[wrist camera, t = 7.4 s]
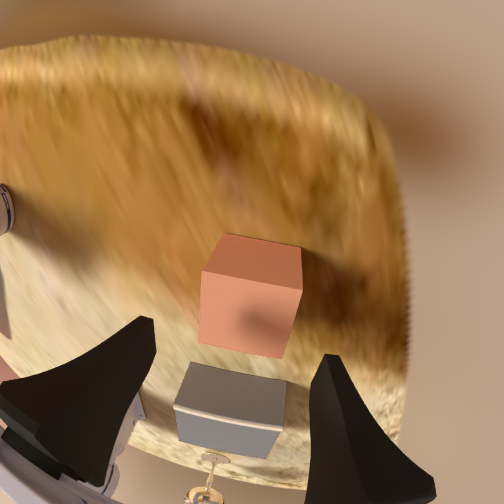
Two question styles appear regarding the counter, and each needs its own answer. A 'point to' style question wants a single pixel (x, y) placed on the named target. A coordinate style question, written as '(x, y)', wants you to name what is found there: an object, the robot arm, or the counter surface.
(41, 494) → the robot arm
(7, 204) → the energy drink
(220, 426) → the block
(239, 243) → the salmon pink cube
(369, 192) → the counter surface
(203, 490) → the wineglass
